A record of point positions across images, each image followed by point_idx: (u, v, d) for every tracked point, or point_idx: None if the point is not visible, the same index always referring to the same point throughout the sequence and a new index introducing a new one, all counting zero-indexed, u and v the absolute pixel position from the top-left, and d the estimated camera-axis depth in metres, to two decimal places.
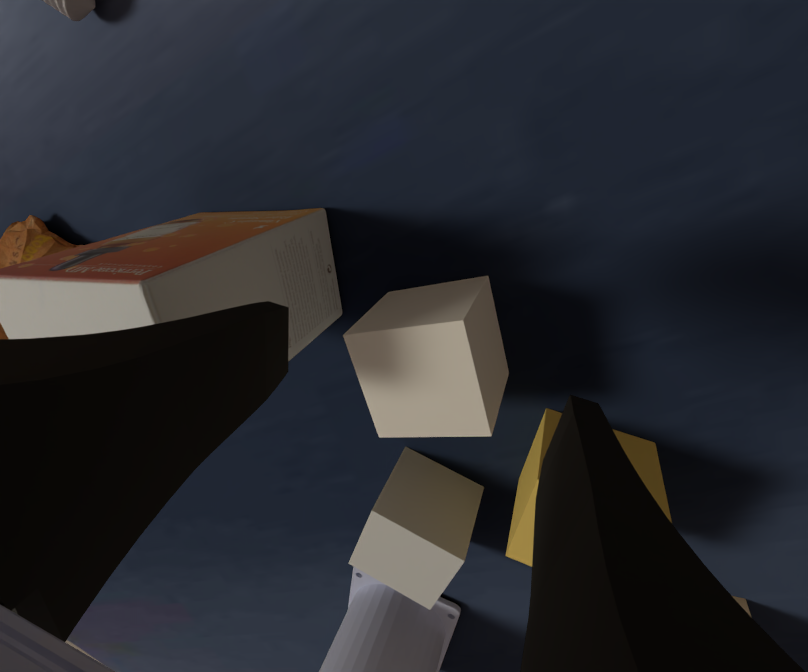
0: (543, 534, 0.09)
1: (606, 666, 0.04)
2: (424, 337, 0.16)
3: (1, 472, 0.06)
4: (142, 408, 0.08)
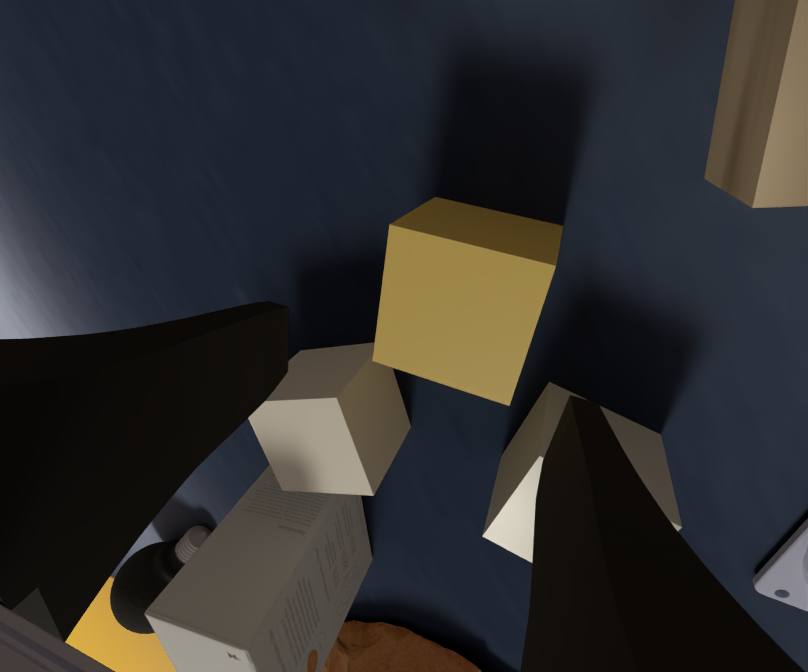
0: (543, 534, 0.09)
1: (606, 666, 0.04)
2: (263, 432, 0.20)
3: (1, 472, 0.06)
4: (142, 408, 0.08)
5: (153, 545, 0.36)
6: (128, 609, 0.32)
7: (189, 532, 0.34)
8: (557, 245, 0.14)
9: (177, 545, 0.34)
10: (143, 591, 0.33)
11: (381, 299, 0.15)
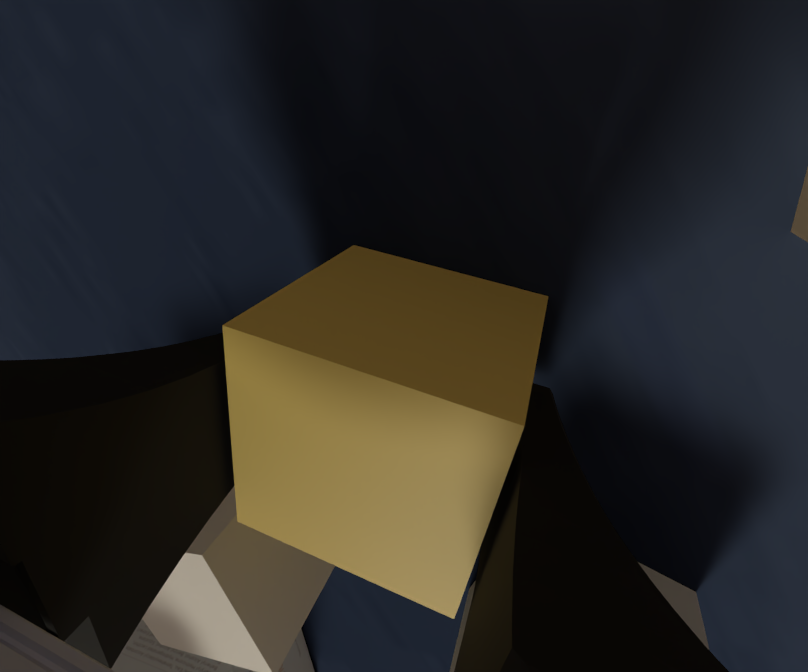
0: None
1: (499, 619, 0.04)
2: None
3: (60, 501, 0.06)
4: (190, 427, 0.08)
5: None
6: None
7: None
8: (534, 353, 0.08)
9: None
10: None
11: (232, 439, 0.09)
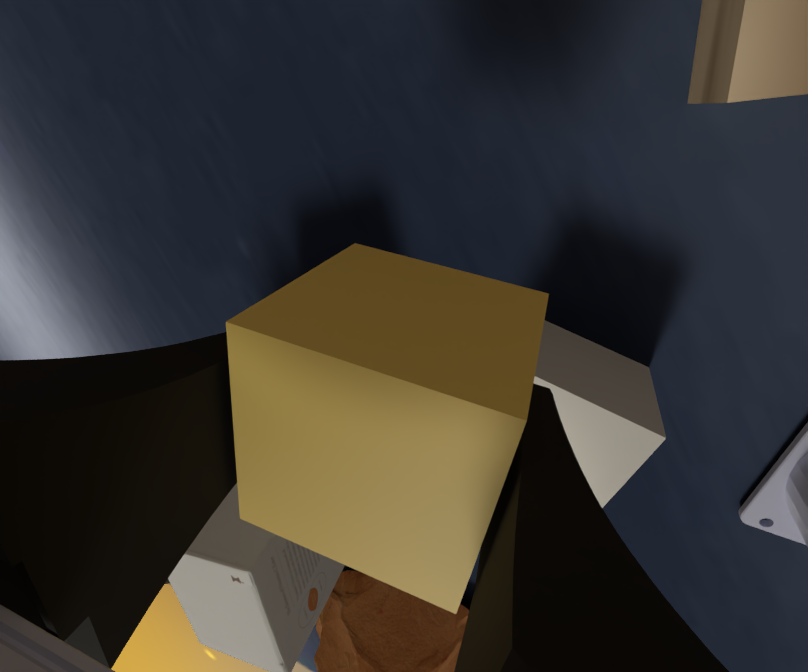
0: None
1: (499, 619, 0.04)
2: None
3: (60, 501, 0.06)
4: (190, 428, 0.08)
5: None
6: None
7: None
8: (535, 350, 0.08)
9: None
10: None
11: (235, 436, 0.09)
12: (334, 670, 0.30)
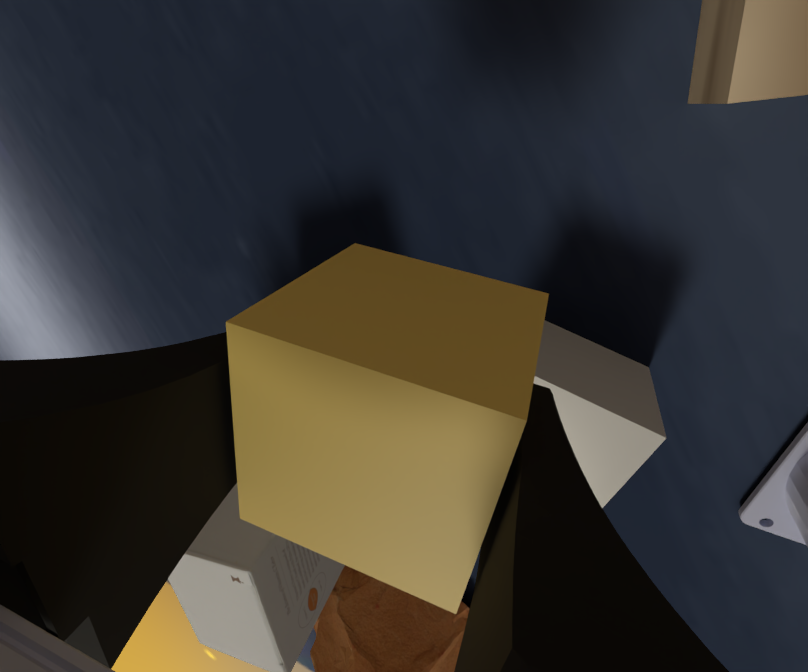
0: None
1: (499, 619, 0.04)
2: None
3: (60, 501, 0.06)
4: (190, 428, 0.08)
5: None
6: None
7: None
8: (535, 350, 0.08)
9: None
10: None
11: (235, 436, 0.09)
12: (330, 664, 0.30)
